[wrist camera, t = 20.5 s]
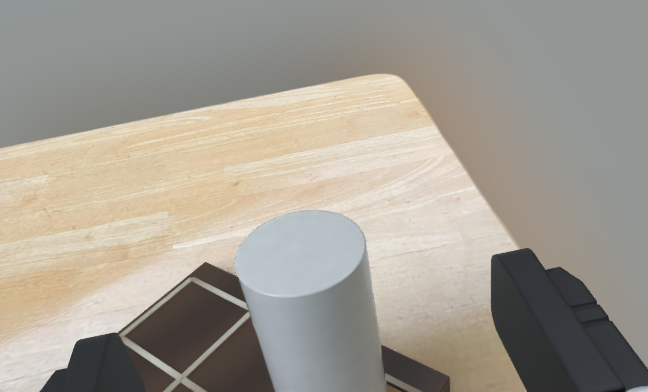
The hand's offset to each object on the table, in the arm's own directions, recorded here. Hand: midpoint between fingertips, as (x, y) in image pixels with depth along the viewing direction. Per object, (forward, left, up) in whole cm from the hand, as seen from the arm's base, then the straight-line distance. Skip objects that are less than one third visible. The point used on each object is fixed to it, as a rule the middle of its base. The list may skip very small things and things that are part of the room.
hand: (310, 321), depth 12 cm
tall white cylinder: (+4, -4, -12) cm, 13 cm away
